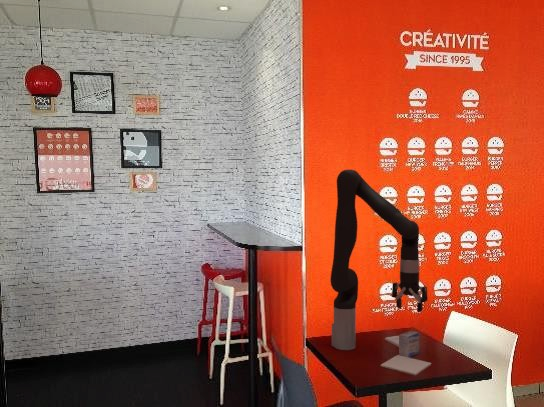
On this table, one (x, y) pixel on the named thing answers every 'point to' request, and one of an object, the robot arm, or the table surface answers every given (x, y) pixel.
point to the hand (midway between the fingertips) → (409, 310)
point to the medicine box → (409, 344)
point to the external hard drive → (393, 340)
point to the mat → (406, 365)
